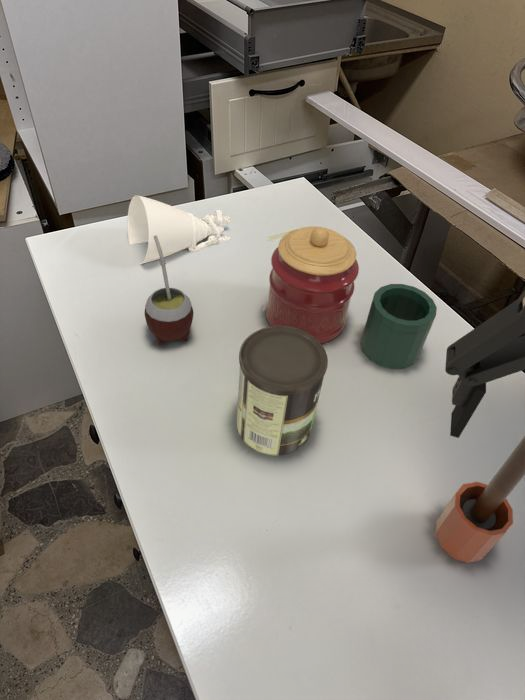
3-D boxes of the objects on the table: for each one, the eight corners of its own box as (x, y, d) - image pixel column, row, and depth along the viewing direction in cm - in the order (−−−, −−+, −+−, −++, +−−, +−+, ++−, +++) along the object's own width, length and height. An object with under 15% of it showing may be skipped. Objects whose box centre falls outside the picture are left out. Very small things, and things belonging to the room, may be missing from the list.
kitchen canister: (341, 298, 90) (362, 207, 78) (347, 352, 81) (372, 260, 69) (266, 292, 90) (275, 200, 77) (264, 346, 81) (273, 252, 68)
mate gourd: (177, 360, 78) (172, 281, 67) (133, 341, 80) (121, 261, 69) (204, 331, 82) (203, 252, 72) (162, 313, 85) (155, 234, 74)
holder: (484, 524, 63) (512, 491, 57) (484, 572, 59) (514, 542, 53) (434, 509, 64) (456, 475, 58) (430, 556, 60) (454, 524, 54)
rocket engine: (238, 188, 95) (142, 184, 86) (249, 250, 94) (152, 253, 85) (212, 210, 105) (123, 209, 96) (222, 267, 104) (133, 271, 95)
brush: (476, 528, 62) (556, 430, 47) (475, 557, 59) (560, 462, 45) (445, 519, 62) (515, 419, 48) (443, 547, 60) (517, 450, 46)
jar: (419, 340, 84) (438, 292, 77) (413, 379, 78) (434, 332, 71) (364, 326, 86) (378, 277, 79) (354, 364, 80) (369, 315, 73)
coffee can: (308, 398, 74) (323, 326, 64) (314, 461, 67) (332, 391, 57) (235, 396, 74) (239, 323, 64) (234, 459, 67) (238, 388, 57)
